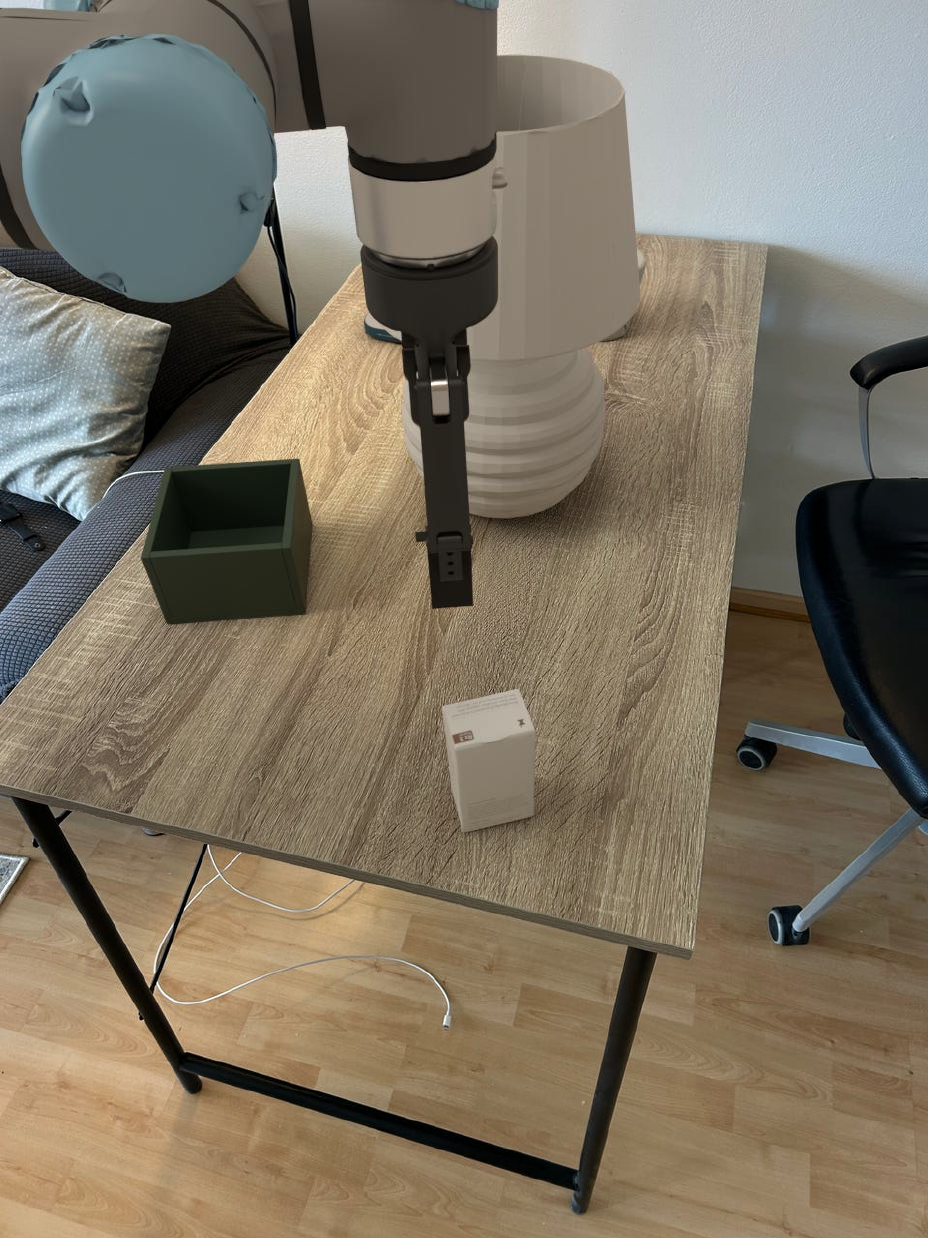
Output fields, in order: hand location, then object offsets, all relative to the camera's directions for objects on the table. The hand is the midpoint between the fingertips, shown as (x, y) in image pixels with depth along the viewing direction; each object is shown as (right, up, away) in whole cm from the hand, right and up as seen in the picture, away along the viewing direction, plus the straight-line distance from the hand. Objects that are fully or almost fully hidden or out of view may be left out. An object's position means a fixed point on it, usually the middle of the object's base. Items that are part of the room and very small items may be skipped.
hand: (446, 536), depth 64 cm
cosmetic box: (+3, -21, +9) cm, 23 cm away
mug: (+18, +35, +62) cm, 73 cm away
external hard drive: (-4, +40, +67) cm, 78 cm away
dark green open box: (-22, -1, +29) cm, 36 cm away
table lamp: (+6, +9, +37) cm, 39 cm away
